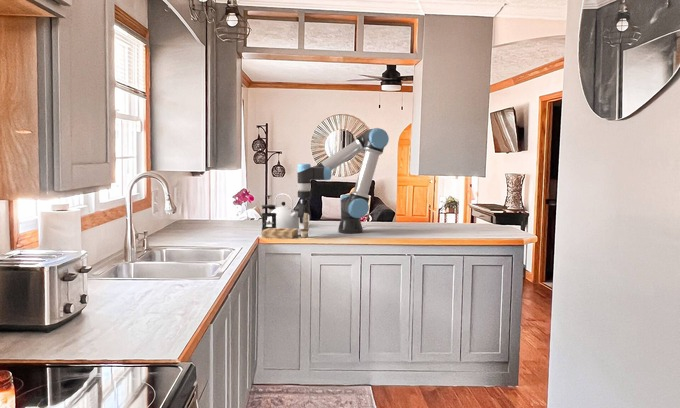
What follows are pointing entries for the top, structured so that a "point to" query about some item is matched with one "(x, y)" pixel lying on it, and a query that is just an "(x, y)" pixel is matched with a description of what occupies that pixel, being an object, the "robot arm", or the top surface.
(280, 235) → the board
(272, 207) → the french press
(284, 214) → the kettle
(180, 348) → the top surface
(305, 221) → the peg
